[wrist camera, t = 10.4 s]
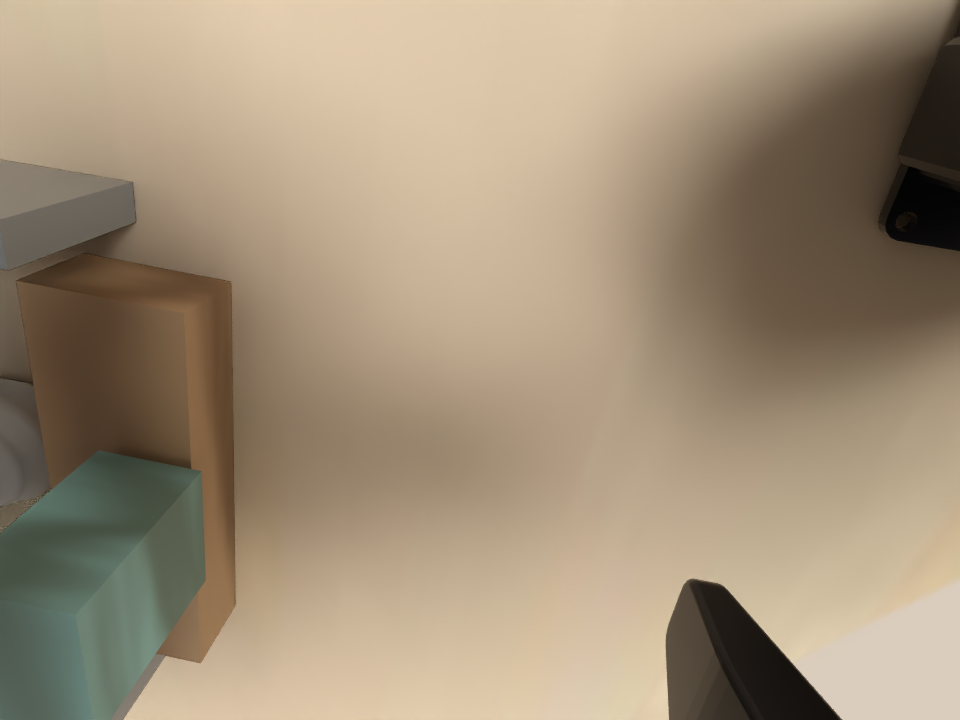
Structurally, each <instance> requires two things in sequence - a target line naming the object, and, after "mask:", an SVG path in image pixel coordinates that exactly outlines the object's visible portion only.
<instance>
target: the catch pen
mask: <svg viewBox="0 0 960 720" xmlns="http://www.w3.org/2000/svg"><path fill="white" fill-rule="evenodd" d="M135 222H136V216H135V205H134V194H133V184H132V182H129V181H123V180H117V179H112V178H106V177H100V176H94V175H88V174H82V173H77V172H71V171H65V170H59V169H53V168H47V167H42V166H36V165H30V164H24V163H18V162H12V161H6V160H1V159H0V269H2V270H11V269H13V268H16V267H19V266H21V265H24V264H27V263H29V262H32V261H34V260H37V259H40V258H42V257H45V256H48V255H50V254H53V253H56V252H58V251H61V250H63V249H66V248H69V247H71V246H74V245H77V244H79V243H82V242H85V241H87V240H90V239H92V238H95V237H98V236H100V235H103V234H106V233H108V232H111V231H114V230H116V229H119V228H121V227H124V226H127V225H129V224H132V223H135ZM164 658H165V656H164V655H160V654H155V655H154V657H153V658H152V660H151V661H150V663H149V664H148V666H147V667H146V668H145V670H144V671H143V673H142V674H141V676H140V677H139V679H138V680H137V682H136V683H135V685H134V686H133V688H132V689H131V690H130V692H129V693H128V695H127V696H126V698H125V699H124V701H123V702H122V704H121V705H120V707H119V708H118V709H117V711H116V712H115V714H114V715H113V717H112V718H111V720H123V719H124V718H125V716H126V715H127V713H128V712H129V710H130V709H131V707H132V706H133V704H134V703H135V701H136V700H137V698H138V697H139V695H140V694H141V692H142V691H143V689H144V688H145V686H146V685H147V683H148V682H149V680H150V679H151V677H152V676H153V674H154V673H155V671H156V670H157V668H158V667H159V665H160V664H161V662H162V661H163V659H164ZM0 720H1V719H0Z"/></svg>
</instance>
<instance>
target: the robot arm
mask: <svg viewBox="0 0 960 720" xmlns="http://www.w3.org/2000/svg"><path fill="white" fill-rule="evenodd" d="M899 156H900V159H901V161H902V163H901V165H900V168H899V170H898V173H897V175H896V177H895V180H894V182H893V185H892V187H891V189H890V192H889V194H888V197H887V199H886V201H885V204H884V206H883V209H882V211H881V213H880V216H879V221H878V224H879V228H880V230H881V231H882V232H883V233H884V234H885V235H886V236H888V237H890V238H892V239H895V240H897V241H903V242H909V243H915V244H921V245H927V246H933V247H939V248H945V249H951V250H957V251H960V24H959V26H958V28H957V31H956V33H955V36H954V38H953V39H952V40H951V41H949V42H948V43H947V44H945V45H944V46H943V47H942V48H941V50H940V52H939V54H938V57H937V59H936V62H935V64H934V67H933V69H932V71H931V74H930V76H929V79H928V81H927V84H926V86H925V88H924V91H923V93H922V96H921V98H920V101H919V103H918V105H917V108H916V110H915V113H914V115H913V118H912V120H911V122H910V125H909V127H908V130H907V132H906V135H905V137H904V139H903V142H902V144H901V147H900V149H899ZM905 212H909V214H910V218H909V221H908V222H907V224H906V225H904V226H902V227H901V228H897V227H896V220H897V218H898V217H899V216H900V215H901V214H903V213H905ZM666 664H667V685H668V706H669V720H842V719H841V718H840V717H839V716H838V715H837V713H836V712H835V711H834V710H833V709H832V708H831V706H830V705H829V704H828V703H827V702H826V701H825V700H824V699H823V697H822V696H821V695H820V694H819V693H818V692H817V691H816V690H815V689H814V687H813V686H812V685H811V684H810V683H809V682H808V680H807V679H806V678H805V677H804V676H803V675H802V674H801V673H800V671H799V670H798V669H797V668H796V667H795V666H794V665H793V663H792V662H791V661H790V660H789V659H788V658H787V657H786V656H785V654H784V653H783V652H782V651H781V650H780V649H779V648H778V646H777V645H776V644H775V643H774V642H773V641H772V640H771V639H770V637H769V636H768V635H767V634H766V633H765V632H764V631H763V629H762V628H761V627H760V626H759V625H758V624H757V623H756V622H755V620H754V619H753V618H752V617H751V616H750V615H749V614H748V612H747V611H746V610H745V609H744V608H743V607H742V606H741V605H740V603H739V602H738V601H737V600H736V599H735V598H734V597H733V595H732V594H731V593H730V592H729V591H728V590H727V589H726V588H725V587H724V586H722V585H721V584H718V583H713V582H708V581H703V580H698V579H690V580H687V581H686V583H685V584H684V585H683V588H682V590H681V593H680V595H679V598H678V601H677V603H676V606H675V609H674V611H673V614H672V617H671V619H670V622H669V625H668V628H667V634H666Z"/></svg>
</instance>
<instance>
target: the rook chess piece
mask: <svg viewBox="0 0 960 720" xmlns="http://www.w3.org/2000/svg"><path fill="white" fill-rule="evenodd" d="M49 489H51V487H50V481H49V475H48V469H47V463H46V457H45V452H44V446H43V440H42V434H41V428H40V422H39V416H38V410H37V404H36V398H35V392H34V386H33V384H30V383H25V382H19V381H14V380H8V379H1V378H0V507H2V506H8V505H11V504H12V503H13V502H20V501H26V500H32V499H34V498H37V497H39V496H41V495H43V494H44V493H46V492H47V491H48V490H49Z"/></svg>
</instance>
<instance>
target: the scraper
mask: <svg viewBox="0 0 960 720" xmlns="http://www.w3.org/2000/svg"><path fill="white" fill-rule="evenodd" d="M16 285H17V291H18V297H19V303H20V309H21V315H22V321H23V326H24V332H25V338H26V344H27V350H28V356H29V362H30V368H31V374H32V380H33V386H34V392H35V398H36V404H37V410H38V416H39V422H40V428H41V434H42V440H43V446H44V452H45V457H46V463H47V469H48V475H49V481H50V487H51V491H49V492H48V493H47V494H46V495H45V496H44V497H42V498H41V499H40V500H39V501H38V502H36V503H35V504H34V505H33V506H32V507H30V508H29V509H28V510H27V511H26V512H25V513H23V514H22V515H21V516H20V517H19V518H17V519H16V520H15V521H14V522H13V523H11V524H10V525H9V526H8V527H7V528H6V529H4V530H3V531H2V532H1V533H0V719H1V720H111V718H112V717H113V715H114V714H115V712H116V711H117V709H118V708H119V707H120V705H121V704H122V702H123V701H124V699H125V698H126V696H127V695H128V693H129V692H130V690H131V689H132V688H133V686H134V685H135V683H136V682H137V680H138V679H139V677H140V676H141V674H142V673H143V671H144V670H145V668H146V667H147V666H148V664H149V663H150V661H151V660H152V658H153V657H154V655H155V654H160V655H164V656H169V657H174V658H178V659H183V660H188V661H192V662H197V663H201V662H202V660H203V659H204V657H205V655H206V654H207V652H208V650H209V649H210V647H211V645H212V644H213V642H214V640H215V639H216V637H217V635H218V634H219V632H220V630H221V629H222V627H223V625H224V624H225V622H226V620H227V619H228V617H229V615H230V613H231V612H232V610H233V608H234V607H235V605H236V594H235V519H234V444H233V368H232V293H231V282H230V281H225V280H220V279H214V278H209V277H204V276H199V275H194V274H188V273H183V272H178V271H173V270H168V269H162V268H157V267H152V266H147V265H142V264H137V263H131V262H126V261H121V260H116V259H111V258H105V257H100V256H95V255H90V254H85V253H84V254H81V255H79V256H76V257H74V258H71V259H69V260H66V261H64V262H61V263H59V264H56V265H54V266H51V267H49V268H46V269H44V270H41V271H39V272H37V273H34V274H32V275H29V276H27V277H24V278H22V279H19V280H17V281H16Z"/></svg>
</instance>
